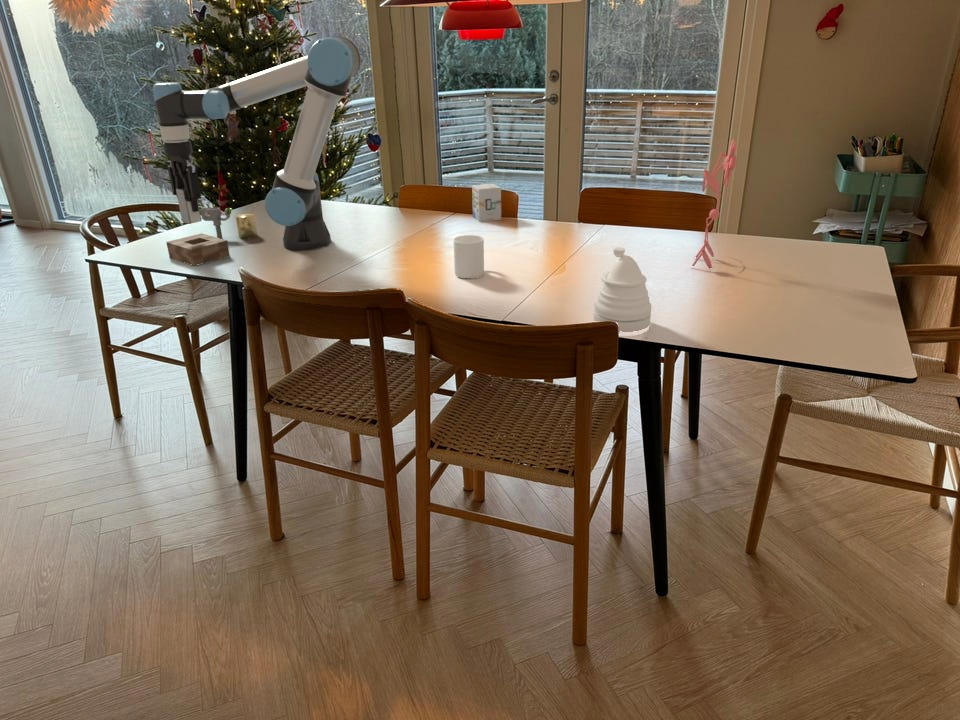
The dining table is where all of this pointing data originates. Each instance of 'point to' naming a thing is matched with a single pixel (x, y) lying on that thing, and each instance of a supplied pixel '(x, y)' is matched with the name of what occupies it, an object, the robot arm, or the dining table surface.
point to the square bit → (184, 205)
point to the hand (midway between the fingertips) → (191, 220)
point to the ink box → (486, 202)
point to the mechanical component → (215, 217)
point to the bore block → (198, 249)
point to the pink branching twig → (712, 182)
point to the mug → (469, 256)
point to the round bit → (246, 226)
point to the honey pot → (624, 295)
